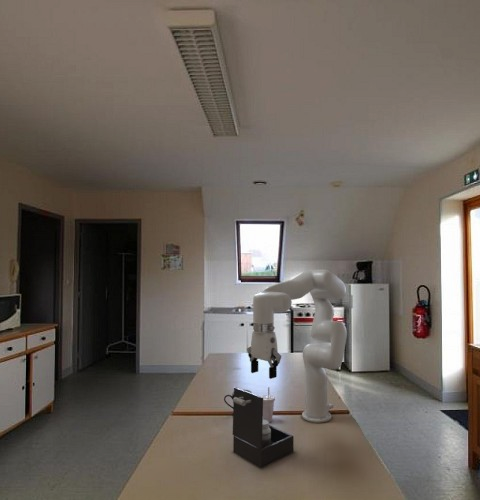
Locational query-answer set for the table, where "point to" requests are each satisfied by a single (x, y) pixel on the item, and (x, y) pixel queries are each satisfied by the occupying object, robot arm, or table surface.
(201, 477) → the table surface
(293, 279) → the robot arm
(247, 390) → the coffee mug
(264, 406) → the smoothie
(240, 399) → the lid
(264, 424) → the pill bottle
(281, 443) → the dark grey storage bin
